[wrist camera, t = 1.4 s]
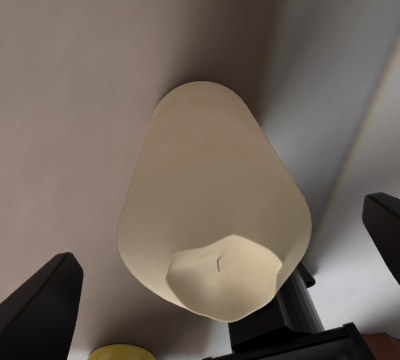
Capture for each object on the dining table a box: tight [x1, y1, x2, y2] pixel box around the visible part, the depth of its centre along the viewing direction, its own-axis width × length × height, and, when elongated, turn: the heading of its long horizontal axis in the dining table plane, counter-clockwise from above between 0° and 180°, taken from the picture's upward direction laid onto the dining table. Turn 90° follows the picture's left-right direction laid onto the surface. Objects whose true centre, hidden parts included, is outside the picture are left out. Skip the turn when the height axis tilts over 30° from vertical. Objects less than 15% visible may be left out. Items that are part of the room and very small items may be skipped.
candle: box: [117, 81, 312, 322], centre depth 11 cm, size 6×6×10 cm
